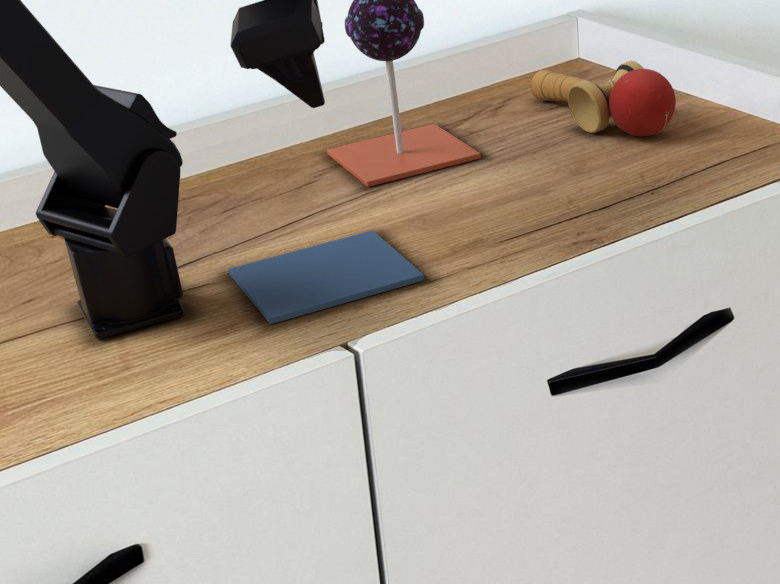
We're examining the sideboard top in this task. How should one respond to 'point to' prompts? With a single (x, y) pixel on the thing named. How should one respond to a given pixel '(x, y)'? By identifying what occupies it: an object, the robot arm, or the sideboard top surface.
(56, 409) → the sideboard top surface
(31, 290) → the sideboard top surface
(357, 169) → the terracotta pad
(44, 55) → the robot arm
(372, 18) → the lollipop
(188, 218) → the sideboard top surface
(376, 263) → the slate pad
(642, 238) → the sideboard top surface
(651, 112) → the kendama
